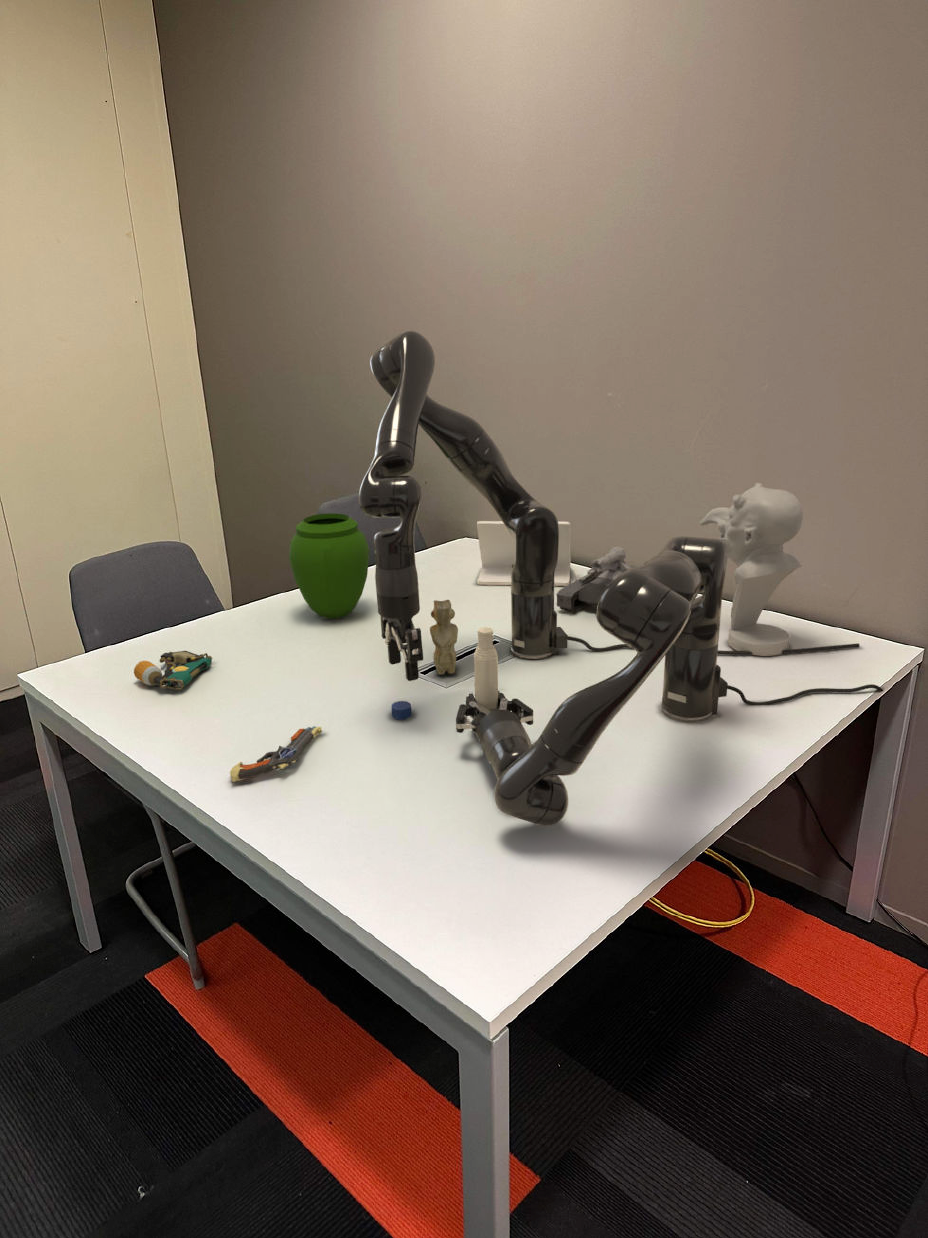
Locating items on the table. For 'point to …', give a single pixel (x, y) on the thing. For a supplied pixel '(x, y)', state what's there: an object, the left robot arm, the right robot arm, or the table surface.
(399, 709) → the cap
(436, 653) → the sculpture
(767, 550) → the bust sculpture
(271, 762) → the toy gun
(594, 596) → the toy
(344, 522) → the vase
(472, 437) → the left robot arm
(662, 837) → the table surface
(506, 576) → the tablet stand
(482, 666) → the bottle
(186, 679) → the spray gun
